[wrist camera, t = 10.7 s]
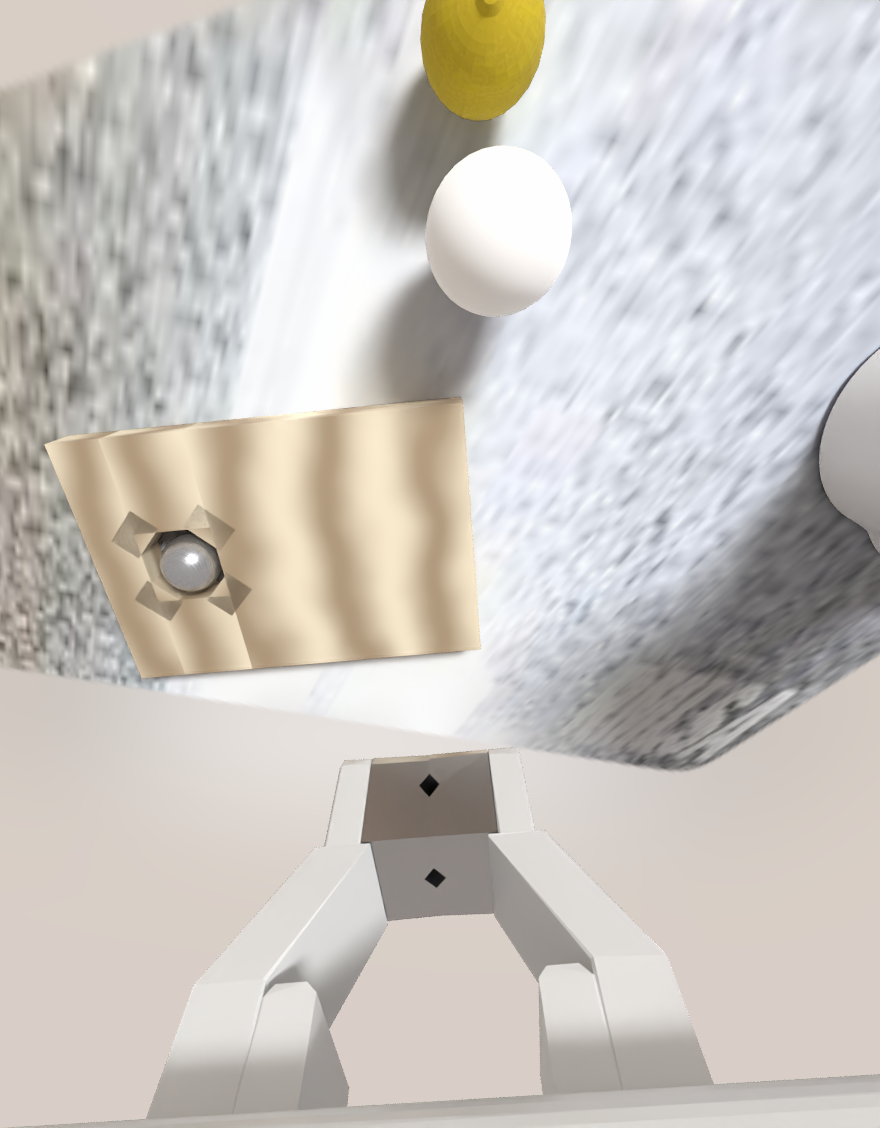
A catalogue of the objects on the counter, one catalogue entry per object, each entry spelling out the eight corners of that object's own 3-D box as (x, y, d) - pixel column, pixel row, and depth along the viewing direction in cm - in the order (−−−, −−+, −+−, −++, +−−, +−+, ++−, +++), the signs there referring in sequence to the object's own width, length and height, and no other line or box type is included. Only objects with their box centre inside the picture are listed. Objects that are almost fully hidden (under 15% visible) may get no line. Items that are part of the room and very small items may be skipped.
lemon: (498, 160, 29) (520, 112, 22) (405, 107, 28) (396, 38, 21) (548, 38, 27) (590, -60, 20) (449, -24, 26) (455, -152, 19)
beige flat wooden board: (460, 396, 35) (462, 402, 32) (478, 631, 42) (480, 649, 40) (69, 435, 35) (44, 444, 33) (157, 659, 43) (141, 678, 41)
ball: (225, 524, 38) (193, 548, 34) (239, 574, 40) (210, 602, 36) (174, 525, 38) (138, 548, 35) (190, 574, 40) (157, 601, 37)
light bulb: (412, 201, 30) (403, 148, 20) (531, 165, 29) (581, 91, 19) (442, 328, 33) (447, 337, 23) (551, 297, 32) (604, 293, 22)
